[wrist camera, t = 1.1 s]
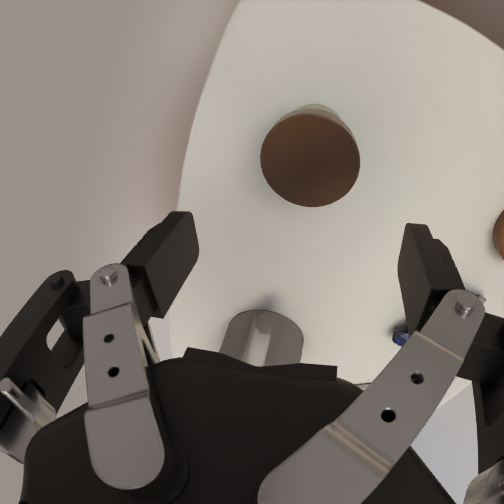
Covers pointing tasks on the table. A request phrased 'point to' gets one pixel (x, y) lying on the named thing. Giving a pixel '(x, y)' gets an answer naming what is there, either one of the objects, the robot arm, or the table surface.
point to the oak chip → (499, 235)
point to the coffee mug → (263, 339)
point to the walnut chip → (310, 158)
